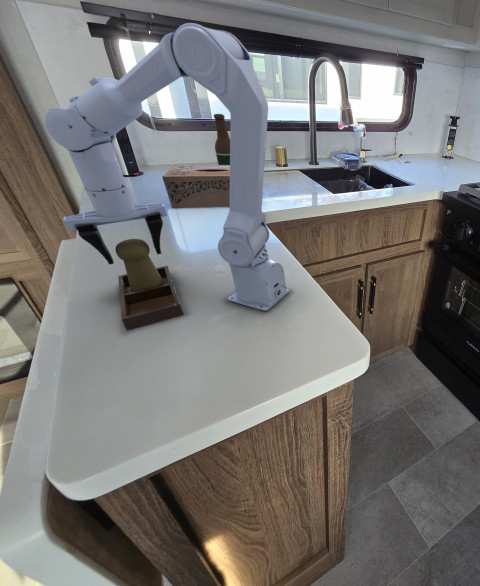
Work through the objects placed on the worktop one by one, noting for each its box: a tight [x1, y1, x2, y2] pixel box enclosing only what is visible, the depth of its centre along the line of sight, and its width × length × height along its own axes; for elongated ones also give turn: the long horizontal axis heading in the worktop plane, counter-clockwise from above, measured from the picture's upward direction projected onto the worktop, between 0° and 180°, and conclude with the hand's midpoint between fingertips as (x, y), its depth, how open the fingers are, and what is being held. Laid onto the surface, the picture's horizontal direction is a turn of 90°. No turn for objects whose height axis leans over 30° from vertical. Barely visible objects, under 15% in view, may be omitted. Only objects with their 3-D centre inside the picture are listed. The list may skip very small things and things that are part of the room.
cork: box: [114, 238, 166, 292], centre depth 66 cm, size 6×6×11 cm
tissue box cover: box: [161, 164, 230, 209], centre depth 113 cm, size 26×14×10 cm, turn 104°
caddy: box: [117, 265, 184, 331], centre depth 65 cm, size 17×9×2 cm, turn 36°
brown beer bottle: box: [213, 113, 230, 165], centre depth 127 cm, size 8×8×24 cm
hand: (135, 256), depth 64 cm, fingers open, 7 cm apart
